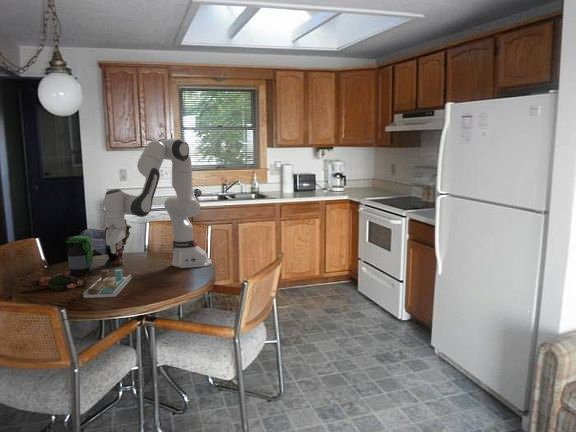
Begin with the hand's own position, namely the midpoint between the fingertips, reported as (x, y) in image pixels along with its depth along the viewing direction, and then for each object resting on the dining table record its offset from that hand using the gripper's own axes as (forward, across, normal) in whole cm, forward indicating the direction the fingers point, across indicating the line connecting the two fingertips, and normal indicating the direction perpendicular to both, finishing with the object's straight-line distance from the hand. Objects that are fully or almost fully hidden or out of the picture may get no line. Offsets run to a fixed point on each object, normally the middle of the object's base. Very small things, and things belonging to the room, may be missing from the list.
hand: (116, 250), depth 225 cm
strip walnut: (+16, -8, +6) cm, 19 cm away
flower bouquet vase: (+17, +38, +11) cm, 43 cm away
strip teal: (+16, -8, 0) cm, 18 cm away
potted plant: (+17, +22, +25) cm, 37 cm away
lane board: (+17, -5, +3) cm, 18 cm away
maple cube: (+14, -14, 0) cm, 20 cm away
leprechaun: (+18, -4, +27) cm, 32 cm away
